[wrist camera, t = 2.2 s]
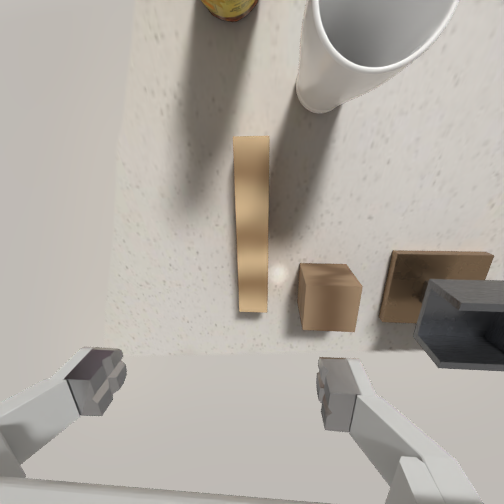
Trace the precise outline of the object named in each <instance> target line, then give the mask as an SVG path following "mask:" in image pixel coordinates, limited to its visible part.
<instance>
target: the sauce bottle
mask: <svg viewBox="0 0 504 504" xmlns="http://www.w3.org/2000/svg"><path fill="white" fill-rule="evenodd" d="M201 1H202V2H203V4H204V5H205V6H206V7H207V8H208V10H209V11H210V13H211V14H212V15H213V16H216V17H218V18H220V19H222V20H226V21H231V22H233V21H238V20H240V19H242V18H243V17H245V16H246V15H247V14H248V13H249V12H250V11H251V10H252V9H253V7H254V6H256V4H257V2H258V0H201Z"/></svg>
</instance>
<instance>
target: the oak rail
mask: <svg viewBox="0 0 504 504" xmlns="http://www.w3.org/2000/svg"><path fill="white" fill-rule="evenodd" d="M233 152H234V179H235V206H236V233H237V260H238V287H239V312H267V298H268V221H269V136H240V137H233Z"/></svg>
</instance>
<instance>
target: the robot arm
mask: <svg viewBox="0 0 504 504" xmlns="http://www.w3.org/2000/svg"><path fill="white" fill-rule="evenodd" d="M122 357H123V353H122V350H120V349H114V348H99V347H83V348H81V349H79V350H78V351H77V352H76V353H75V354H74V355H73V356H72V357H71V358H70V359H69V360H68V361H67V362H66V363H65V364H64V365H63V366H62V367H61V368H60V369H59V370H58V371H57V372H56V373H55V374H54V375H53V376H52V377H51V378H50V379H44V380H42V381H40V382H38V383H36V384H35V385H33V386H31V387H29V388H27V389H25V390H23V391H21V392H20V393H17V394H15V395H14V396H12V397H10V398H8V399H6V400H4V401H2V402H0V504H330V503H318V502H306V501H305V502H304V501H294V500H282V499H269V498H258V497H246V496H233V495H222V494H210V493H197V492H186V491H174V490H162V489H150V488H138V487H125V486H113V485H101V484H89V483H77V482H65V481H52V480H41V479H28V478H25V477H26V476H25V473H24V471H23V469H22V468H21V466H20V465H21V464H22V463H23V462H24V461H26V460H27V459H28V458H29V457H31V456H32V455H33V454H34V453H35V452H37V451H38V450H39V449H41V448H42V447H43V446H44V445H46V444H47V443H48V442H49V441H51V440H52V439H53V438H54V437H56V436H57V435H58V434H59V433H60V432H62V431H63V430H64V429H66V428H67V427H68V426H69V425H71V424H72V423H73V422H74V421H75V420H77V419H78V418H79V417H80V415H84V416H102V415H103V413H104V412H105V411H106V409H107V408H108V406H109V404H110V403H111V402H112V400H113V393H115V392H116V391H118V390H119V389H120V388H121V386H122V385H123V383H124V381H125V378H126V372H127V371H126V365H125V363H124V362H122V361H121V359H122ZM318 367H319V372H318V373H317V381H316V384H317V394H318V399H319V401H320V402H321V403H322V408H321V414H322V418H323V423H324V428H325V430H330V431H340V432H341V431H342V432H350V433H349V434H350V435H351V437H352V438H353V439H354V440H355V442H356V443H357V444H358V446H359V447H360V448H361V449H362V451H363V452H364V453H365V455H366V456H367V457H368V458H369V460H370V461H371V462H372V464H373V465H374V466H375V468H376V469H377V470H378V472H379V473H380V474H381V475H382V477H383V478H384V479H385V481H386V482H387V483H388V485H389V486H390V491H389V493H388V496H387V499H386V503H385V504H484V503H483V502H482V500H481V498H480V497H479V495H478V494H477V492H476V490H475V489H474V487H473V486H472V484H471V482H470V481H469V479H468V478H467V476H466V474H465V473H464V471H463V470H462V468H461V467H460V465H459V463H458V462H457V460H456V459H455V458H454V457H453V456H451V455H450V454H449V453H448V452H447V451H445V450H444V449H443V448H442V447H441V446H440V445H439V444H437V443H436V442H435V441H434V440H433V439H432V438H430V437H429V436H428V435H427V434H425V433H424V432H423V431H422V430H421V429H420V428H418V427H417V426H416V425H415V424H414V423H413V422H411V421H410V420H409V419H408V418H407V417H405V416H404V415H403V414H402V413H401V412H400V411H398V410H397V409H396V408H395V407H394V406H392V405H391V404H390V403H389V402H387V401H386V400H385V399H384V398H383V397H380V396H377V394H376V392H375V390H374V388H373V385H372V383H371V381H370V379H369V377H368V375H367V373H366V370H365V368H364V366H363V364H362V362H361V360H360V359H359V358H327V357H320V358H319V360H318Z"/></svg>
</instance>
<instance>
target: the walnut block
mask: <svg viewBox="0 0 504 504" xmlns="http://www.w3.org/2000/svg"><path fill="white" fill-rule="evenodd" d="M362 287H363V286H362V285H361V284H360V282H359V281H358V280H357V278H356V277H355V276H354V274H353V273H352V271H351V270H350V269H349V267H348V266H347V265H346V264H312V263H300V270H299V285H298V300H297V303H298V308H299V313H300V319H301V324H302V329H303V330H317V331H342V332H355V327H356V321H357V316H358V310H359V304H360V299H361V293H362Z"/></svg>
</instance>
